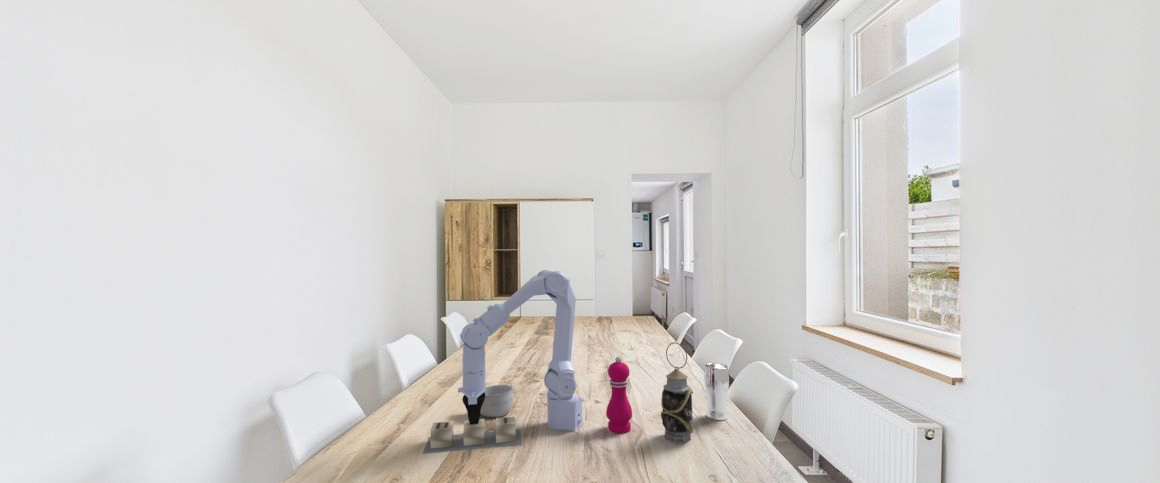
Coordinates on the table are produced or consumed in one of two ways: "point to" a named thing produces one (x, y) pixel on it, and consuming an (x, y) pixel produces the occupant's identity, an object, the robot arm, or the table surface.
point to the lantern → (677, 406)
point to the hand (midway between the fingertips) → (474, 423)
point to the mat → (459, 445)
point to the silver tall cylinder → (716, 390)
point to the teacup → (497, 401)
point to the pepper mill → (619, 398)
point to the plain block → (474, 432)
